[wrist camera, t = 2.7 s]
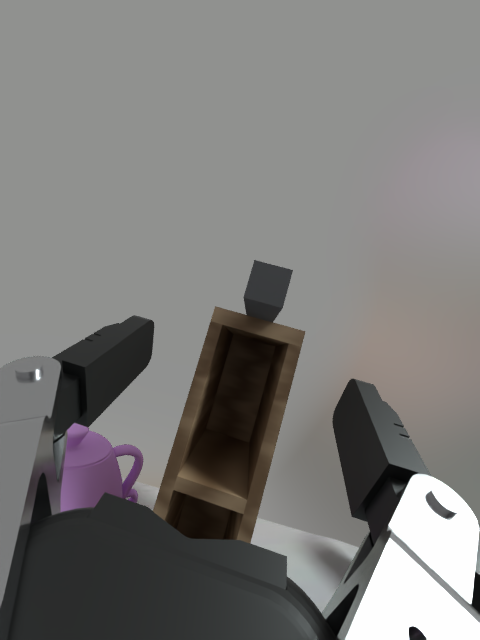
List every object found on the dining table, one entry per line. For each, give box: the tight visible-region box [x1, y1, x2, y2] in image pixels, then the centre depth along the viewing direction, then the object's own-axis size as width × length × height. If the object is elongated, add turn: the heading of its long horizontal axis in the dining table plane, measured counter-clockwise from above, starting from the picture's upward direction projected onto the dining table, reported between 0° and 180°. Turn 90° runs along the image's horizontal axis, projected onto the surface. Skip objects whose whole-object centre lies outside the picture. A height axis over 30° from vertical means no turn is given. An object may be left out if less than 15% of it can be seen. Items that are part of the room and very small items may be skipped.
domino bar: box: [244, 260, 293, 322], centre depth 28 cm, size 3×24×3 cm, turn 177°
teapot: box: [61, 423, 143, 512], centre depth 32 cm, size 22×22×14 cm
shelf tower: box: [153, 307, 305, 543], centre depth 30 cm, size 9×15×32 cm, turn 177°
